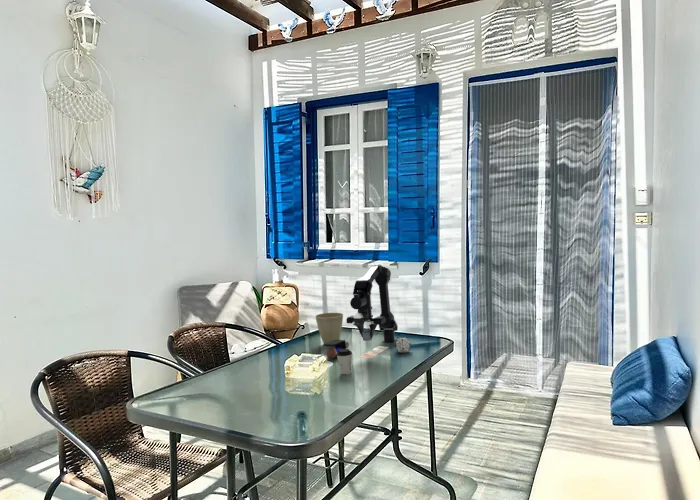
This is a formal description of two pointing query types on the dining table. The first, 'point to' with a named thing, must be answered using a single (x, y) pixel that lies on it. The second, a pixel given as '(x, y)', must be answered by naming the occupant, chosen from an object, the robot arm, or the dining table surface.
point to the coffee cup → (344, 360)
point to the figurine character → (338, 345)
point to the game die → (402, 345)
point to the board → (374, 352)
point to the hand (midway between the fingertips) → (367, 337)
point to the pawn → (366, 334)
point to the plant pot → (329, 326)
